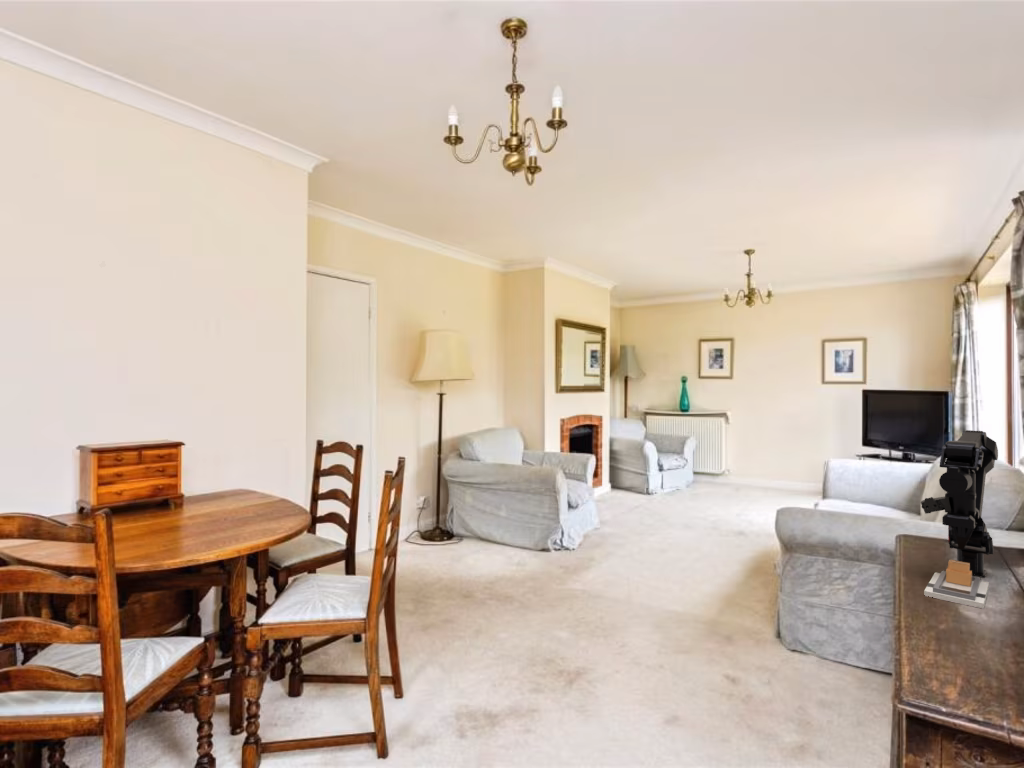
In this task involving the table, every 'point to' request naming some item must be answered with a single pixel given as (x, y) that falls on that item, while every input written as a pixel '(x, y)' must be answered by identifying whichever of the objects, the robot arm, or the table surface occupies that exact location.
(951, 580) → the fader knob
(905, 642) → the table surface
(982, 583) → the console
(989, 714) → the table surface
